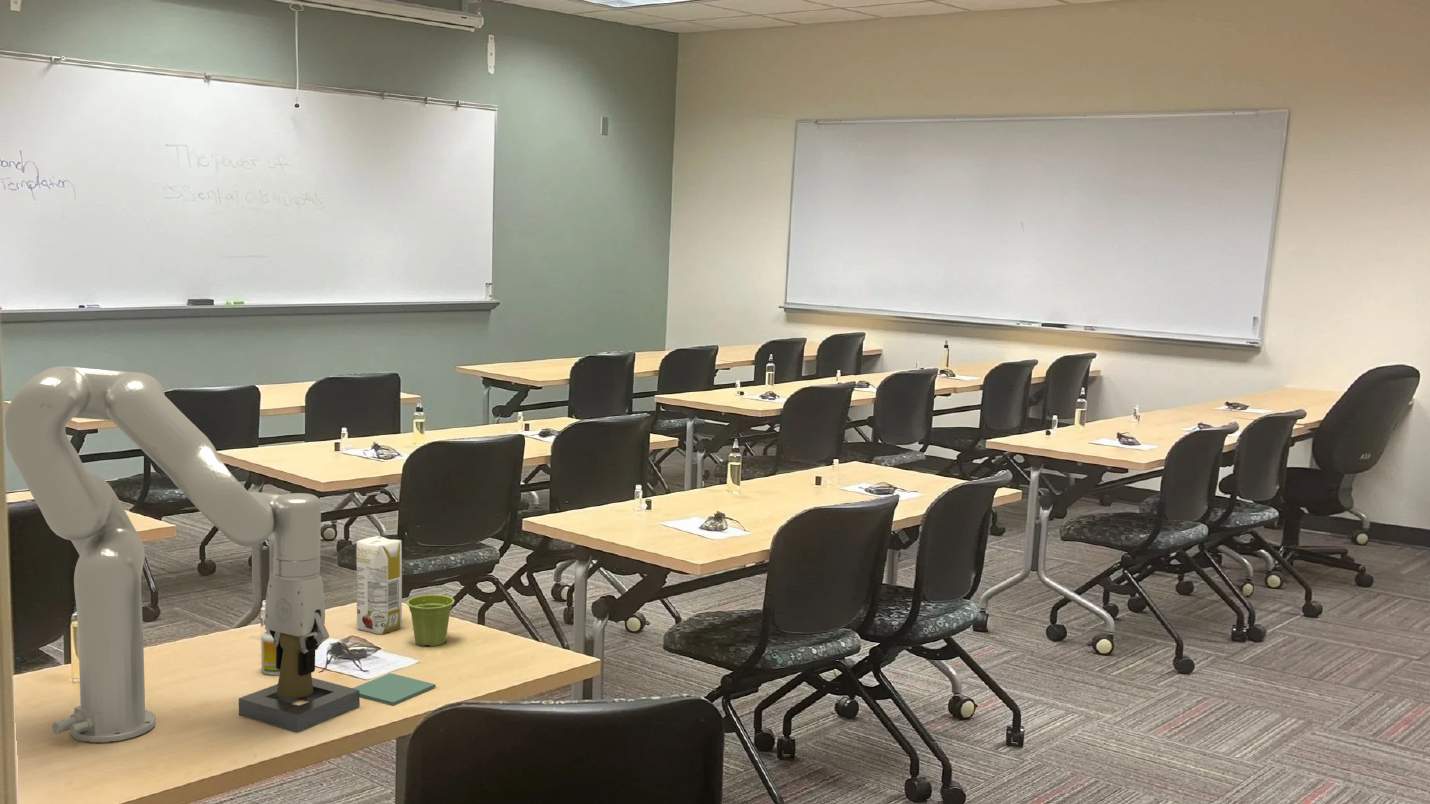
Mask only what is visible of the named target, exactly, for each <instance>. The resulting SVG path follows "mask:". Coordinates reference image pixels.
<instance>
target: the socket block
mask: <svg viewBox="0 0 1430 804" xmlns="http://www.w3.org/2000/svg"><path fill="white" fill-rule="evenodd" d="M312 684H313V693H312V694H310V695H308V696H305V697H299V698H285V697H281V696H278V695H277V687H278V683H277V684H274V685H273V684H272V685H270V686H268V687H266V688H263V689H261V690H257V691H255V692H251V693H250V694H247V695H244V696H242V697H239V698H238V716H240V717H243V718H245V719H246V718H248V719H249V720H254V721H257V722H260V723H264V724H268V725H271V726H275V727H278V728H281V729H284V730H288V731H291V732H295V733H300V732H302V731H305V730H307V729H310V728H312V727H314V726H316V725H319V724H322V723H323V722H326V721H328V720H331V719H334V718H335V717H337V716H341V715H343V714H346V713H347V712H350V711H353V710H354V709H357V708H360V707H361V706H360V698H361V697H360V694H359V690H357V689H353V688H354V687H350V686H344V685H342V684H338V683H334V682H331V681H326V680H323V679H318V678H314V677H312ZM301 700H303V701H306V702H305V703H302V704H300V705H297V704H295V703H296V702H299V701H301ZM293 703H294V704H293Z"/></svg>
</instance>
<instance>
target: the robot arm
mask: <svg viewBox="0 0 1430 804" xmlns="http://www.w3.org/2000/svg"><path fill="white" fill-rule="evenodd" d="M4 417H5V428H6V443H5V445H6V448H7V450H8V452H9V455H10V456H11V459H12V461H13V463H14V464H15V467H16V468H17V469H18V472H19V473H20V475H21V477H22V479H23V481H24V483H25V485H26V487H27V488H28V491H29V492H30V494H31V496H32V497H33V499H34V501H35V503H36V505H37V507H38V509H39V510H40V513H41V514H42V516H43V517H44V520H45V523H46V524H47V525H48V527H49V529H50V530H51V531H52V532H53V533H54V534H55V535H56V536H58V537H60V538H62V539H64V540H66V541H67V540H68V541H71V543H72V545H73V546H74V548H75V550H76V551H77V553H78V555H79V556H78V558H77V562H76V565H75V569H74V572H73V573H74V575H73V586H74V587H73V589H74V599H75V607H76V621H77V642H78V665H79V666H78V667H79V668H78V669H79V693H80V694H79V698H80V701H79V702H80V705H78V706H75V707H74V708H73V710H74V712H73V714H71V715H70V716H69V717H68V718H63V719H60V720H57V721H54V722H52V724H51V730H52V732H53V734H56V735H58V734H61V733H64V732H67V731H70V735H71V737H72V738H74V739H76V740H78V741H81V742H85V741H91V742H90V743H110V741H113V742H119V741H123V740H128V739H132V738H135V737H137V736H140V735H143V734H145V733H148V732H149V731H151V730H152V729H153V728H155V726H156V723H157V722H156V721H157V720H156V719H157V718H156V715H155V714H154V713H153V712H152V711H150V710H148V709H146V695H145V694H146V693H145V691H146V690H145V687H146V686H145V659H144V658H145V657H144V656H145V652H144V626H143V624H144V622H143V603H142V602H143V601H142V600H143V599H142V573H143V569H144V565H145V561H146V551H145V550H146V549H145V546H144V544H143V542H142V540H141V537H140V535H139V533H138V532H137V530H136V528H135V526H134V525H133V523H132V520H131V519H130V517H129V515H128V514H127V512H126V510H125V508H124V506H123V505H122V502H121V501H120V499H119V497H118V496H117V494H116V492H115V490H114V489H113V488H112V486H111V485H110V483H108V482H107V481H106V479H104V478H102V477H101V476H99V475H97V474H94V473H91V472H88V470H87V469H86V467H85V465H84V463H83V462H82V460H81V458H80V455H79V453H78V452H77V450H76V448H75V447H74V446H73V444H72V442H71V440H69V438H68V435H67V433H66V432H67V431H66V427H67V425H68V423H69V422H70V421H71V420H72V419H87V420H101V421H111V422H112V423H114V425H115V426H116V427H117V428H118V429H119V430H121V432H123V434H124V435H125V436H127V437H128V438H129V439H130V441H132V442H133V443H134V444H135V445H136V446H137V447H139V449H140V450H142V452H143V453H144V454H146V456H148V457H149V459H151V460H152V461H153V462H154V463H155V464H156V466H158V468H160V470H162V471H163V472H164V473H165V474H166V476H168V478H169V479H170V480H171V481H172V482H173V484H174V485H175V486H176V487H177V488H178V489H179V490H180V491H181V492H182V493H183V494H184V495H185V497H186V498H187V499H188V500H189V501H190V502H191V503H192V504H193V505H194V507H195V508H196V509H197V511H199V512H200V513H201V514H202V515H203V516H204V517H205V518H206V519H207V520H208V521H209V522H210V523H211V524H212V525H213V526H214V527H216V528H217V530H219V532H220V533H222V534H223V535H224V536H225V537H226V538H227V539H229V541H231V542H232V543H234V544H236V545H238V546H241V547H246V548H252V547H256V546H260V545H262V544H263V543H264V542H266V541H267V540H268V539H269V538H270V537H271V535H273V557H272V562H273V571H271V573H270V575H269V578H268V582H267V589H266V594H265V595H266V596H265V607H264V608H265V609H264V621H263V624H264V627H265V626H266V627H267V628H268V630H269V631H270V634H271V635H272V637H273V639H274V641H273V643H274V645H275V646H277V647H276V669H280V668H281V661H282V654H283V648H282V647H281V645H280V637H281V634H282V633H283V634H287V635H291V636H294V637H299V639H300V645H301V651H302V652H300V653H299V655H298V674H299V675H300V676H303V675H306V674H309V673H311V674H312V673H314V672H315V671H316V650H317V651H318V649H319V647H320V646H321V644H323V643H324V642H325V641H326V640H328V639H329V637H330V633H329V632H328V630H327V627H326V625H325V621H326V607H325V605H326V604H325V603H326V602H325V601H326V600H325V593H324V592H325V591H324V584H323V583H324V582H323V578H322V575H321V529H322V528H321V527H322V526H321V525H322V523H321V522H322V519H321V518H322V504H321V500H320V498H319V497H318V496H316V495H315V494H312V493H305V492H304V493H303V492H295V493H285V494H277V493H267V492H259V491H248V490H247V489H246V487H244V486H243V485H242V484H241V482H240V481H238V479H237V478H236V477H235V476H234V475H233V474H232V473H231V472H230V470H229V469H228V468H227V466H226V465H225V463H224V462H223V460H222V459H221V457H220V455H219V453H218V451H217V450H216V448H215V446H214V444H213V443H212V442H211V440H210V439H209V437H208V436H207V435H206V434H205V433H204V432H202V431H201V430H200V429H199V428H198V427H197V426H196V424H194V423H193V422H192V421H191V420H190V419H189V418H188V417H187V416H186V415H185V414H184V413H183V412H182V411H181V410H180V409H179V408H178V407H177V406H176V405H175V404H174V403H173V402H172V401H171V400H170V399H169V398H168V397H167V396H166V395H165V391H164V388H163V386H162V384H161V383H160V382H159V381H158V380H157V379H156V378H155V377H153V376H152V375H150V374H147V373H143V372H136V371H124V370H123V371H122V370H109V369H100V368H90V367H88V368H87V367H80V366H79V367H78V366H67V365H64V366H63V365H62V366H61V365H60V366H53V367H50V368H46V369H45V370H43V371H41V372H39V373H37V374H36V375H35V376H32V377H31V378H30V379H28V381H27V382H25V383H24V384H23V386H21V388H20V389H19V390H18V391H17V393H16V394H15V395H14V397H13V398H12V399H11V401H10V402H9V404H8V406H7V409H6V411H5V414H4ZM307 637H310V641H309V642H308V643H307Z"/></svg>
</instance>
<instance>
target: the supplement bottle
mask: <svg viewBox="0 0 1430 804" xmlns="http://www.w3.org/2000/svg"><path fill="white" fill-rule="evenodd" d="M264 629H265V631H264V633H262V635H261V639H260V640H261V648H260V649H261V671H262V674H265V675H267V676H268V675H270V676H279V674H280V669H276V647H277V646H275V645H274V643H273V641H274V639H273V637H272V635H271V634H270V631H269V630H268V628H267V627H266V626H265V625H264Z"/></svg>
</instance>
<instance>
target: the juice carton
mask: <svg viewBox="0 0 1430 804" xmlns="http://www.w3.org/2000/svg"><path fill="white" fill-rule="evenodd" d="M402 551H403V547H402V540H401V539H392V538H391V539H389V538H387V537H383V536H380V535H377V536H370V537H366V538H363V539H362V538H361V539H359V540H356V627H357V630H361V631H364V632H369V633H372V634H376V635H383V634H386V633H391V632H392V631H395V629H396V630H399V629H401V628H402V623H403V622H402V621H403V618H402V617H403V615H402V614H403V608H402V606H403V589H402V588H403V587H402V585H403V580H402V579H403V573H402V572H403V571H402V570H403V569H402V567H403V565H402V564H403V557H402V555H403V552H402Z"/></svg>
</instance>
